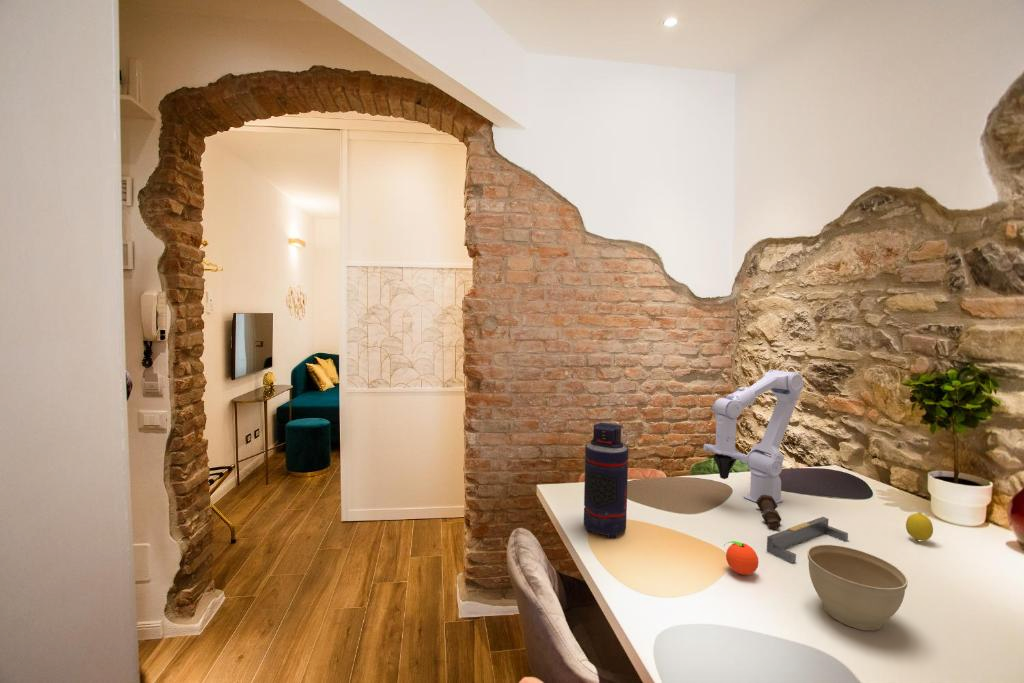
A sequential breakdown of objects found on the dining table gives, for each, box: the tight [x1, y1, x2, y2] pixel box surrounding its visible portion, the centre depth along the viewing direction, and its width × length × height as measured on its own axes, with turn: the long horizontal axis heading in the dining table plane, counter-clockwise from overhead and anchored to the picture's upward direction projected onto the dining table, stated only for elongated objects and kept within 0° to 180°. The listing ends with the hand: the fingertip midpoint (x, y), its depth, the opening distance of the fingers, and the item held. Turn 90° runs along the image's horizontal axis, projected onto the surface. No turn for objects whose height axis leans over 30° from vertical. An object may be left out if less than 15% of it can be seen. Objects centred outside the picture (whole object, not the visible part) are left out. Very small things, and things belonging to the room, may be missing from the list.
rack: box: [766, 516, 849, 564], centre depth 121 cm, size 26×6×4 cm, turn 118°
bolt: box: [755, 495, 782, 530], centre depth 136 cm, size 6×5×15 cm
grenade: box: [583, 421, 629, 539], centre depth 129 cm, size 14×12×30 cm
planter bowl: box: [807, 544, 908, 631], centre depth 92 cm, size 16×16×11 cm
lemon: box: [905, 512, 934, 541], centre depth 124 cm, size 6×6×8 cm
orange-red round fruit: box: [723, 540, 760, 576], centre depth 108 cm, size 8×7×7 cm
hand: (724, 478), depth 145 cm, fingers closed
